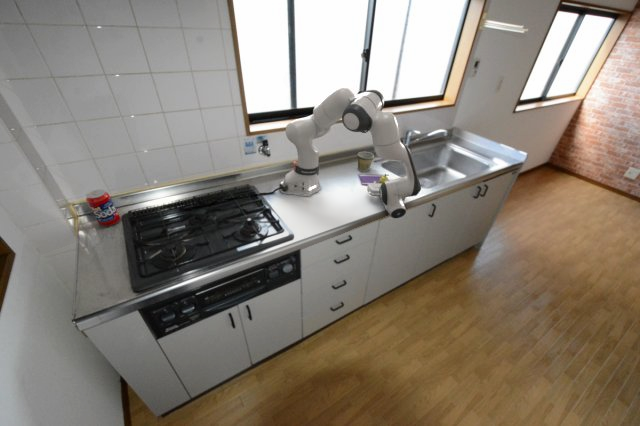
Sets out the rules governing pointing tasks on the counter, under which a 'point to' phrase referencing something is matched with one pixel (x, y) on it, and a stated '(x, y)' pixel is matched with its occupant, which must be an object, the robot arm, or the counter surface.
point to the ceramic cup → (364, 161)
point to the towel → (369, 179)
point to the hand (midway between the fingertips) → (383, 182)
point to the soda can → (102, 207)
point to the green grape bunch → (383, 179)
